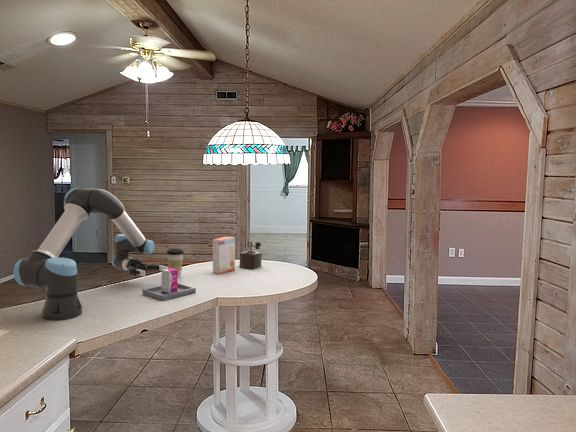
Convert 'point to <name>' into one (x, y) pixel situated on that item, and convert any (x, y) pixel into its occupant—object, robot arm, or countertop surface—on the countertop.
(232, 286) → the countertop surface
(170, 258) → the coffee cup
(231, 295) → the countertop surface
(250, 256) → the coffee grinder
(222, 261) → the cracker box
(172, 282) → the supplement box
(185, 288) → the tray
